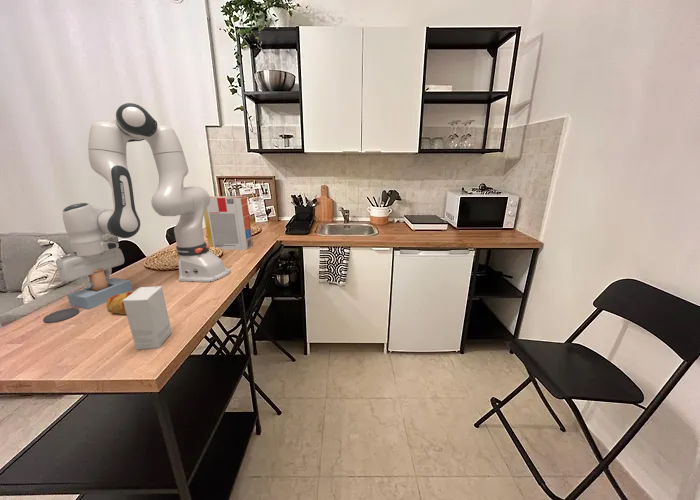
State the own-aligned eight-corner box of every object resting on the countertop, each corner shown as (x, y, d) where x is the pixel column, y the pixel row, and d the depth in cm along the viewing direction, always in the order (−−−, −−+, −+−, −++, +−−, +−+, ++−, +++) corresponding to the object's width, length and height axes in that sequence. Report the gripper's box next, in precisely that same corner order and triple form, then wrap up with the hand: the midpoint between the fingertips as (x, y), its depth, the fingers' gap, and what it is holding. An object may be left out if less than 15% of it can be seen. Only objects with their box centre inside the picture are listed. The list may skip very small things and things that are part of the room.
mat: (85, 311, 104) (85, 309, 104) (54, 324, 96) (54, 323, 95) (68, 308, 107) (68, 306, 106) (37, 320, 98) (36, 319, 98)
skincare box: (151, 333, 90) (139, 286, 85) (174, 332, 90) (163, 285, 85) (134, 350, 82) (120, 299, 77) (159, 349, 82) (147, 298, 77)
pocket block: (133, 290, 120) (130, 280, 118) (89, 309, 105) (85, 297, 104) (115, 287, 123) (112, 277, 121) (70, 305, 108) (66, 294, 107)
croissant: (104, 316, 107) (86, 303, 102) (125, 294, 114) (110, 281, 108) (146, 325, 100) (129, 311, 95) (166, 300, 107) (152, 287, 101)
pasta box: (252, 245, 179) (246, 195, 170) (247, 249, 171) (240, 197, 162) (216, 245, 181) (208, 196, 172) (209, 249, 173) (200, 198, 164)
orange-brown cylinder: (114, 295, 116) (106, 267, 112) (101, 301, 111) (91, 271, 107) (105, 294, 117) (97, 265, 114) (91, 299, 113) (82, 270, 109)
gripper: (60, 258, 98) (73, 296, 102) (122, 241, 116) (131, 274, 120) (48, 256, 100) (61, 293, 104) (111, 240, 118) (120, 272, 122)
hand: (99, 283), depth 112 cm, fingers closed on orange-brown cylinder, 5 cm apart
